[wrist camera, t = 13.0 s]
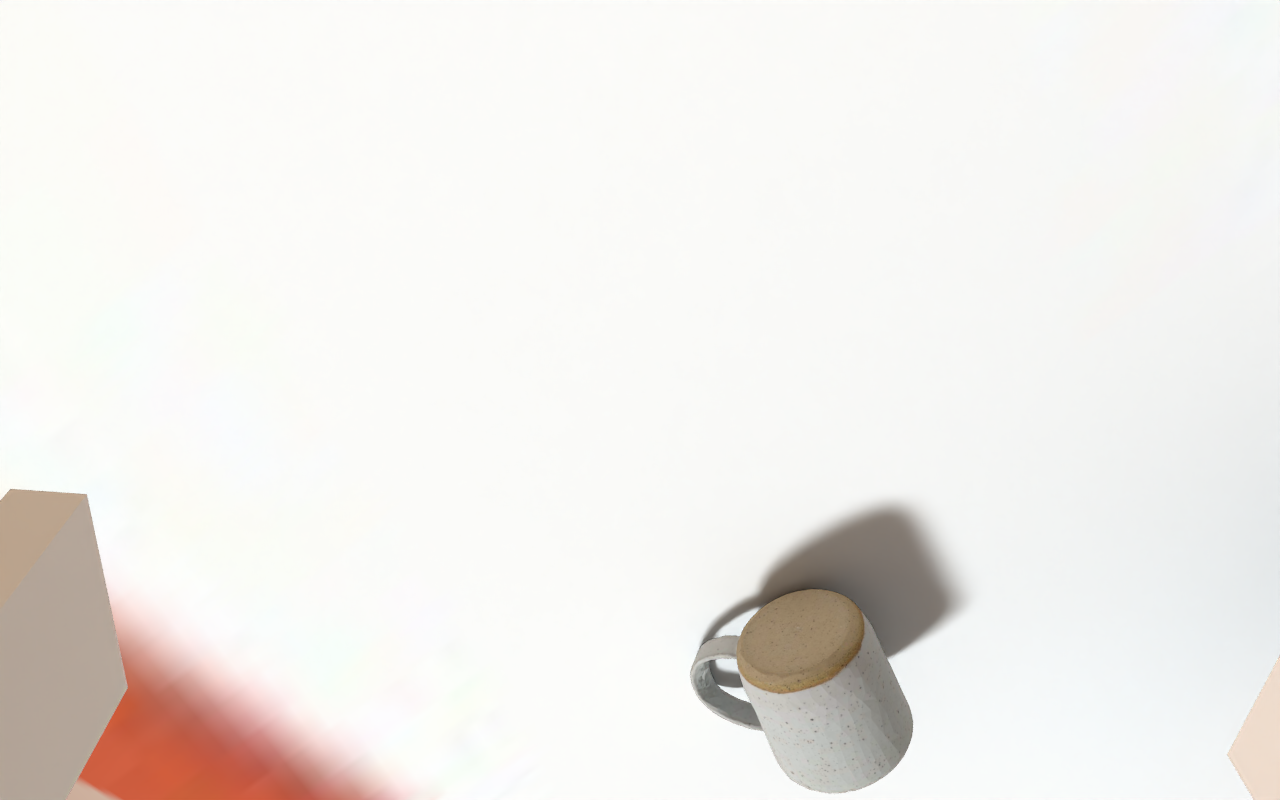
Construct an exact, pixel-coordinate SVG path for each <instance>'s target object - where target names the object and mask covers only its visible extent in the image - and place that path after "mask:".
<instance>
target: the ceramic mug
mask: <svg viewBox="0 0 1280 800" xmlns="http://www.w3.org/2000/svg"><path fill="white" fill-rule="evenodd" d="M722 658H724V659H732V658H733V659H737V664H738V670H739V674H740V678H741V682H742V684H743V687H744V690H745V692H746V694H747V696H748V698H749V700H750V702H751V703H749V702H746V701H743V700H740V699H738V698H736V697H734V696H732V695H730V694H728V693H727V692H725V691H723V690H722V689H720V687H719V686H718V685H717V684H716V683H715V681H714V679H713V677H712V674H711V671H710V669H709V667H710V662H709V661H710V660H716V659H722ZM690 675H691V677H690V678H691V683H692V686H693V689H694V691H695V693H696V695H697V696H698V698H699V699H700V700H701V702H702V703H703V704H704V705H705V706H706V707H707V708H708V709H710V710H711V711H712V712H713V713H715V714H717V715H718V716H720V717H721V718H723V719H725V720H728V721H730V722H732V723H734V724H737V725H740V726H743V727H746V728H749V729H754V730H760V731H764V733H765V735H766V737H767V740H768V742H769V745H770V747H771V749H772V752H773V754H774V756H775V758H776V760H777V762H778V764H779V765H780V767H781V768H782V770H783V771H784V772H785V773H786V775H787V776H788V777H789V778H790V779H791V780H792V781H794V782H796V783H797V784H799V785H801V786H803V787H805V788H807V789H810V790H813V791H818V792H824V793H845V792H848V791H855V790H858V789H862V788H864V787H866V786H869V785H871V784H873V783H875V782H876V781H878V780H880V779H881V778H883V777H884V776H886V775H887V774H888V773H889V772H891V771H892V770H893V769H894V768H895V767H896V766H897V765H898V763H899V762H900V761H901V759H902V758H903V756H904V755H905V753H906V751H907V749H908V746H909V744H910V741H911V738H912V732H913V719H912V714H911V710H910V707H909V705H908V703H907V700H906V698H905V696H904V694H903V692H902V690H901V688H900V685H899V683H898V681H897V679H896V677H895V674H894V672H893V670H892V668H891V666H890V664H889V662H888V660H887V658H886V656H885V653H884V651H883V649H882V647H881V645H880V642H879V640H878V638H877V636H876V633H875V631H874V629H873V627H872V625H871V624H870V622H869V620H868V619H867V618H866V616H865V615H864V613H863V612H862V611H861V610H860V609H859V607H858V606H857V605H856V604H855V603H854V602H853V601H852V600H850V599H849V598H847V597H846V596H844V595H842V594H839V593H837V592H833V591H828V590H822V589H808V590H802V591H795V592H792V593H789V594H786V595H783V596H781V597H779V598H777V599H775V600H773V601H771V602H770V603H768V604H767V605H765V606H764V607H763V608H761V609H760V610H759V611H758V612H757V613H756V614H755V615H754V616H753V617H752V618H751V619H750V620H749V621H748V623H747V624H746V626H745V627H744V629H743V631H742V633H741V636H722V637H719V638H715V639H711V640H709V641H707V642H706V643H704V644H703V645H702V646H701V647H700V649H699V651H698V653H697V655H696V658H695V660H694V663H693V665H692V668H691V672H690Z"/></svg>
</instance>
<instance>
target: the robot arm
mask: <svg viewBox="0 0 1280 800" xmlns="http://www.w3.org/2000/svg"><path fill="white" fill-rule="evenodd" d="M127 688H128V687H127V682H126V677H125V672H124V668H123V663H122V658H121V654H120V649H119V644H118V639H117V635H116V630H115V625H114V621H113V616H112V611H111V607H110V602H109V597H108V592H107V588H106V583H105V578H104V574H103V569H102V564H101V559H100V555H99V550H98V545H97V541H96V536H95V531H94V526H93V522H92V517H91V512H90V508H89V503H88V498H87V494H75V493H60V492H46V491H32V490H17V489H10V490H9V491H8V492H7V494H6V495H5V496H4V497H3V498H2V499H1V501H0V800H66V799H67V797H68V795H69V794H70V792H71V790H72V788H73V786H74V784H75V783H76V781H77V779H78V777H79V775H80V774H81V772H82V770H83V768H84V766H85V764H86V763H87V761H88V759H89V757H90V755H91V754H92V752H93V750H94V748H95V746H96V744H97V743H98V741H99V739H100V737H101V735H102V734H103V732H104V730H105V728H106V726H107V724H108V723H109V721H110V719H111V717H112V715H113V713H114V712H115V710H116V708H117V706H118V704H119V703H120V701H121V699H122V697H123V695H124V693H125V692H126V690H127ZM1227 755H1228V757H1229V759H1230V761H1231V762H1232V764H1233V766H1234V767H1235V769H1236V771H1237V772H1238V774H1239V776H1240V777H1241V779H1242V781H1243V782H1244V784H1245V786H1246V788H1247V789H1248V791H1249V793H1250V794H1251V796H1252V798H1253V799H1254V800H1280V656H1279V658H1278V660H1277V662H1276V663H1275V665H1274V667H1273V669H1272V671H1271V673H1270V675H1269V677H1268V679H1267V680H1266V682H1265V684H1264V686H1263V688H1262V690H1261V692H1260V694H1259V696H1258V697H1257V699H1256V701H1255V703H1254V705H1253V707H1252V709H1251V711H1250V713H1249V714H1248V716H1247V718H1246V720H1245V722H1244V724H1243V726H1242V728H1241V729H1240V731H1239V733H1238V735H1237V737H1236V739H1235V741H1234V743H1233V745H1232V746H1231V748H1230V750H1229V752H1228V754H1227Z"/></svg>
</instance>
